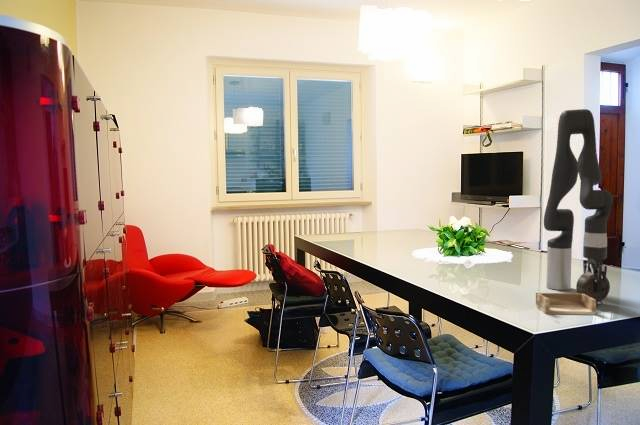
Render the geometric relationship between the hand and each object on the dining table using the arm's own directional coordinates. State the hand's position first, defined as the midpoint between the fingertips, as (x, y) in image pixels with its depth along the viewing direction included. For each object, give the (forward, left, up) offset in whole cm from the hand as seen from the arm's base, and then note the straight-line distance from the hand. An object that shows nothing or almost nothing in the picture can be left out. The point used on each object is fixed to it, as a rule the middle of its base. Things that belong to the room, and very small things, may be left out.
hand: (593, 290), depth 184 cm
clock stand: (+9, -13, -5) cm, 17 cm away
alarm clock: (0, 0, -5) cm, 5 cm away
